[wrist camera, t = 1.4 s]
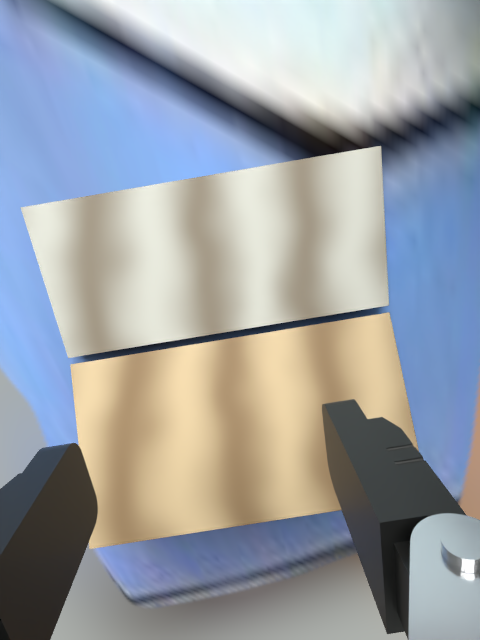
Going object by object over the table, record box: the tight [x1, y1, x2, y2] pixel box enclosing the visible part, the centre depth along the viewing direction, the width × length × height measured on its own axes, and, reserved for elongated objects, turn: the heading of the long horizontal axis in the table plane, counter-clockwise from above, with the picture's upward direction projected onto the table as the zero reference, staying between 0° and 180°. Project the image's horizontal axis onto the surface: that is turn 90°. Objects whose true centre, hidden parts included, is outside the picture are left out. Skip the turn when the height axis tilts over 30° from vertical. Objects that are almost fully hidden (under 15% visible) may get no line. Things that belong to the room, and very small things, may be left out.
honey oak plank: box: [71, 313, 419, 549], centre depth 27 cm, size 22×12×2 cm, turn 99°
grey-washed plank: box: [21, 146, 389, 358], centre depth 27 cm, size 22×10×2 cm, turn 99°
